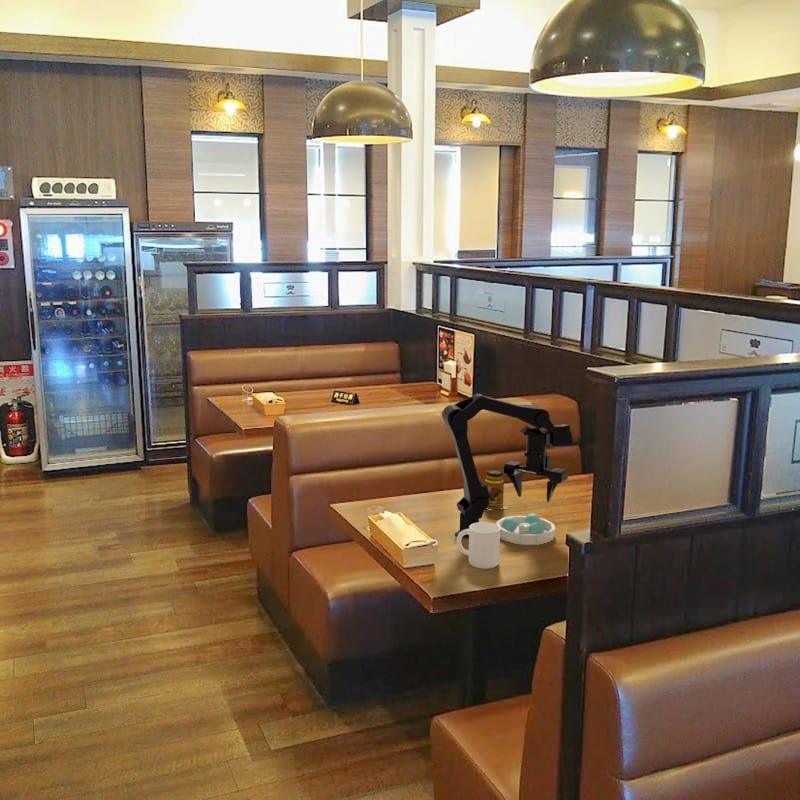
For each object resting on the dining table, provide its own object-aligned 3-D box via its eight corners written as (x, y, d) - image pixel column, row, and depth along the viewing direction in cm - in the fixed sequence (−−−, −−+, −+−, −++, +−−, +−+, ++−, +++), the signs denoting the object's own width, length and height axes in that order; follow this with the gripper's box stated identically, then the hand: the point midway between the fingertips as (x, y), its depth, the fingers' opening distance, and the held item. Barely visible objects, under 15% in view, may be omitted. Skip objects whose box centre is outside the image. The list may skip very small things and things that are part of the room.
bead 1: (512, 535, 247) (513, 521, 246) (499, 532, 250) (499, 518, 249) (519, 531, 251) (519, 517, 250) (505, 528, 253) (506, 514, 252)
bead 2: (541, 530, 252) (542, 516, 252) (527, 530, 251) (528, 516, 251) (536, 524, 257) (537, 511, 256) (522, 525, 256) (523, 511, 255)
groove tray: (540, 549, 239) (540, 539, 238) (486, 537, 248) (486, 527, 247) (563, 532, 253) (563, 522, 252) (511, 521, 262) (511, 512, 261)
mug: (450, 563, 228) (451, 527, 226) (461, 553, 235) (462, 518, 233) (493, 571, 223) (494, 534, 221) (502, 560, 230) (504, 524, 228)
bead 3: (543, 537, 247) (546, 523, 247) (541, 540, 243) (544, 526, 243) (528, 533, 249) (531, 519, 248) (526, 537, 244) (529, 522, 244)
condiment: (487, 511, 271) (489, 475, 269) (477, 503, 279) (478, 468, 277) (508, 509, 274) (510, 473, 271) (498, 501, 282) (499, 466, 279)
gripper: (576, 447, 251) (573, 497, 254) (518, 438, 261) (516, 487, 264) (561, 455, 242) (559, 507, 245) (502, 446, 252) (501, 496, 255)
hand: (534, 499), depth 252 cm, fingers open, 9 cm apart
